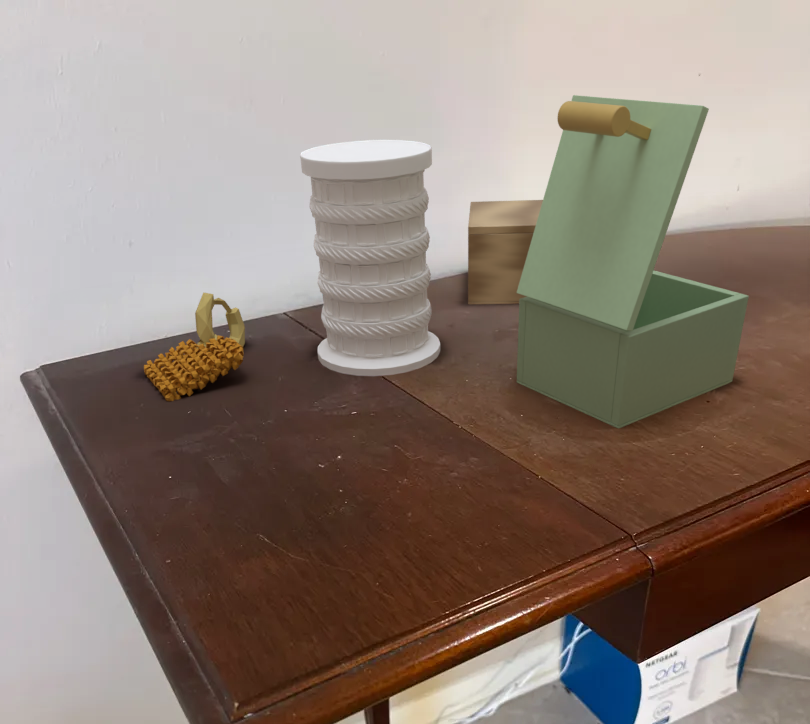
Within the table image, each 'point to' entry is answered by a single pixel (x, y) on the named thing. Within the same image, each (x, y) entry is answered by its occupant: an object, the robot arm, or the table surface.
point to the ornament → (199, 354)
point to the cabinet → (499, 248)
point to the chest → (633, 351)
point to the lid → (609, 204)
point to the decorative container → (372, 255)
